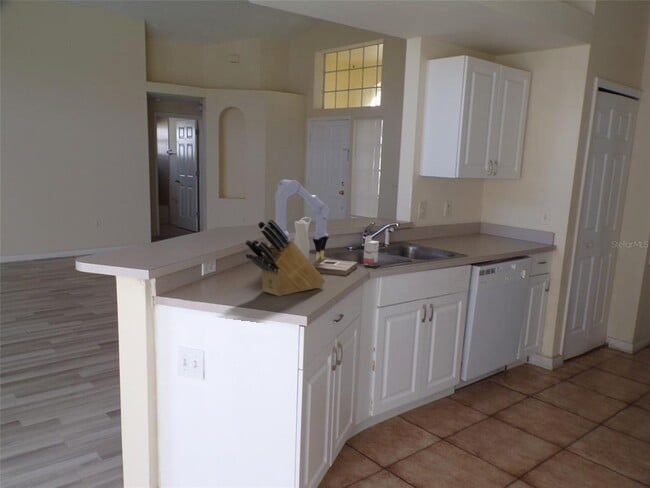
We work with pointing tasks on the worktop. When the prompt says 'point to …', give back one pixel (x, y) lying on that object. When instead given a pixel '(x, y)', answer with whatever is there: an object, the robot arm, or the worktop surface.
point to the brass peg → (320, 255)
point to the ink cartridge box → (370, 250)
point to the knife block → (282, 263)
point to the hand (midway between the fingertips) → (320, 250)
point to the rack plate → (334, 266)
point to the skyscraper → (302, 236)
